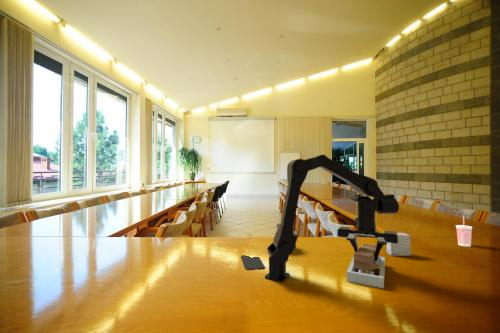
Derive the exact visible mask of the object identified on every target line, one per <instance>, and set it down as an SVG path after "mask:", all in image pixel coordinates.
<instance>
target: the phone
mask: <svg viewBox="0 0 500 333" xmlns="http://www.w3.org/2000/svg"><path fill="white" fill-rule="evenodd" d="M246 255H247V254H245V255H243V254H242V255H240V259H242V260H241V262H242V264H244V265H243V267H244V269H245V271H256V270H255V269H258V270H264V268H265V269H266V266H265V264H264V263H263V261H262V259H261V258H260V256H259V257H253V258H251V257H249V256H246Z"/></svg>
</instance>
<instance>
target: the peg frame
mask: <svg viewBox="0 0 500 333" xmlns="http://www.w3.org/2000/svg"><path fill="white" fill-rule="evenodd" d="M385 259H386V257H384V256H379V259H378V260H377V262H376V263H375V265H374V267H373V268H372V270H371V271H367V270H362V269H358V271H356V270H357V268H354V255H353V257H352V259H351V261H350V264H349V266H348V268H347V270H346V282H349V283H354V284H358V285H359V284H360V285H365V286H369V287H373V288H379V289H380V288H381V289H384V288H385V271H386V260H385ZM376 266H379V273H378V274H379V275H376V274H375V272H374V271H376ZM366 271H367V272H366Z"/></svg>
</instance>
